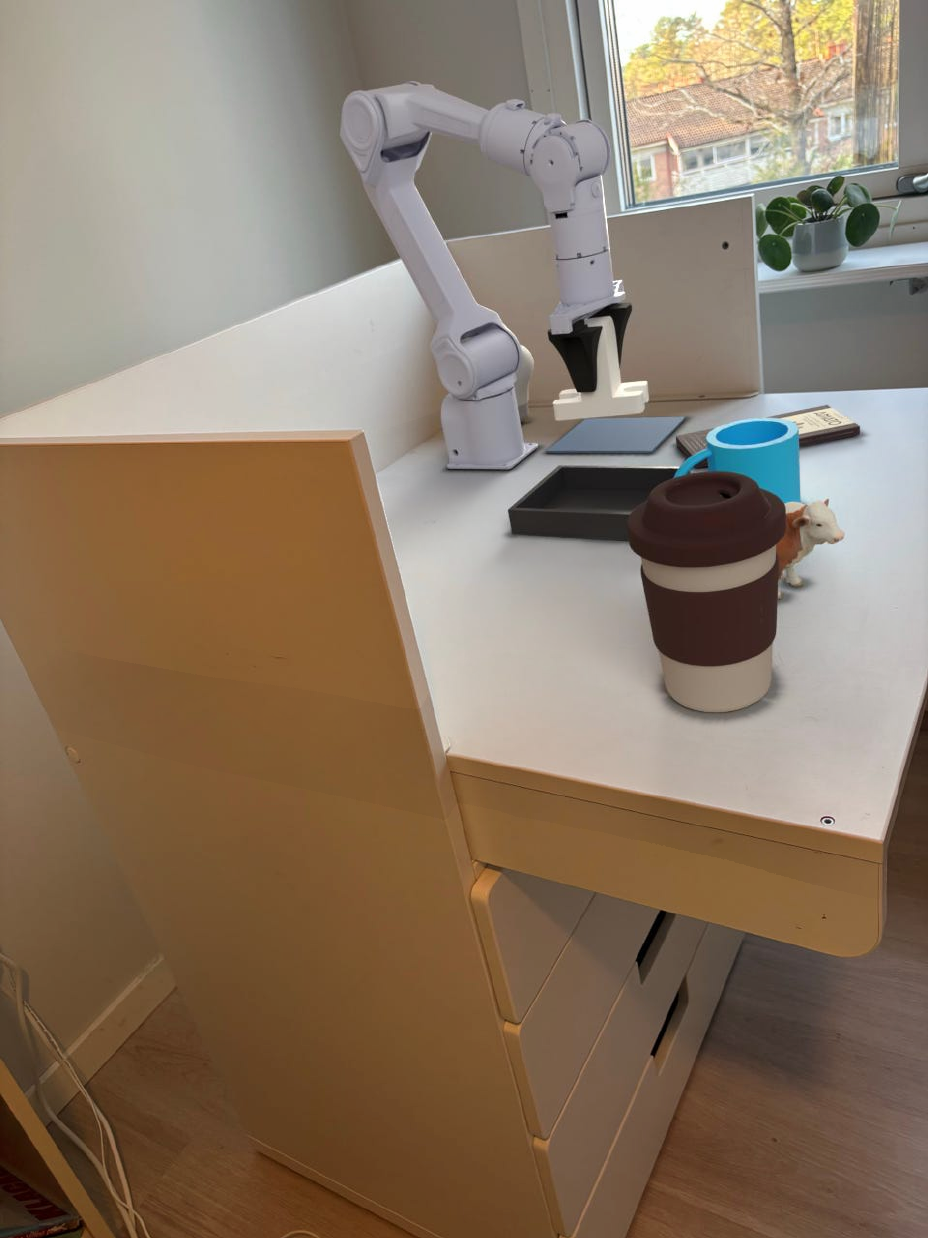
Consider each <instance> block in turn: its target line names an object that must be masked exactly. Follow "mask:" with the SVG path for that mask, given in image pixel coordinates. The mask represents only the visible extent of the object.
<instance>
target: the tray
mask: <svg viewBox="0 0 928 1238" xmlns="http://www.w3.org/2000/svg"><path fill="white" fill-rule="evenodd" d="M679 467H680V466H678V465H677V466H675V465H674V466H673V465H672V466H669V465H667V466H666V465H665V466H664V465H658V466H657V465H563V464H562V465H561V464H560V465H559V464H558V465H557V466H556V467H555V468H554V469H553V470H552V471H550V473H548V474H547V475H546V476H545V477H543V478H542V480H540V481H539V482H538V483H537V484H536V485H534V486H533V487H532V488H531V489H529V491H527V492H526V493H525V494H524V495H523V496H521V498H519V499H518V500H517V501H516V502H515V503H514V504H513V505H512V506H510V507H509V508H508V509H507V514H508V519H509V525H510V530H511V535H517V536H532V537H533V536H534V537H553V538H569V539H570V538H571V539H588V540H589V539H591V540H607V541H623V542H625V541H626V542H629V539H628V531H627V520H628V518H629V516H630V514H631V512H632V511H633V510H634V509H635V508H636V507H638V506H639V505H641V504H642V503H644V502H645V501H647V500H648V497H649V494H650V493H651V491H652V490H653V489H654V488H655V487H657V486H658V485H659V484H661V483H663V482H665V481H667V480H670V479H672V478H673V477H674V475H675V474H676V472H677V470H678V468H679ZM691 473H692V472H691V470H690V471H689V472H688V473H687V474H691Z"/></svg>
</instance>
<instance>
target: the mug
mask: <svg viewBox="0 0 928 1238" xmlns="http://www.w3.org/2000/svg"><path fill="white" fill-rule="evenodd" d="M714 428H715V429H713V430H712V431H710V432H709V433H708V435H707V437H706V444H707V449H704V450H701V451H699V452H698V453H696V454H694V455H693V456H691V457H689V458H688V457H687V459H685V461H684V462H682V463H681V465H680V466H679V468H678V470H677V472H676V474H675V475H674V477H673V478H675V477H678V476H682V475H686V474H687V473H688V472H689V471H691V470H692V469H693V468H694V467H695V465H696V464H697V463H699V462H700V461H702V460H704V459H705V458H708V466H707V468H708V469H707V470H708V471H728V472H735V473H739V474H743V475H746V476H748V477H750V478H752V479H753V480H754V481H756V482H757V484H758V486H759V488H761V489H764V490H767V491H769V492H771V493H773V494H775V495H777V496H778V497H779V498H780V499H781V500H782V501H783V503H784V504H785V503H788V502H799V503H802V502H801V501H802V500H801V498H802V497H801V473H800V472H801V468H800V463H801V461H800V447H799V428H798V426H797V425H796V424H795V423H793V422H791V421H789V420H784V419H779V418H766V417H755V418H754V417H753V418H746V419H740V420H739V419H738V420H735V421H731V422H728V423H724V424H721V425H719V426H717V427H714Z"/></svg>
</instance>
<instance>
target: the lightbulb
mask: <svg viewBox="0 0 928 1238" xmlns="http://www.w3.org/2000/svg"><path fill="white" fill-rule="evenodd" d="M520 346H521V350H522V363H521V366H520V368H519V370H518V371H517V372H516V378H517V381H516V382H515V383H514V388H515V394H516V399H517V405H518V411H519V417H520V423H523V422H525V420H526V419H527V418H528V417H529V416H530V411H529V400H530V398H529V397H530V396H529V388H530V383H531V380H532V376H533V374H534V369H535V361H534V358H533V355H532V353H531V352H530V350H528V349H527V347H525V346H524V345H522V344H520Z"/></svg>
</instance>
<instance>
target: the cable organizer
mask: <svg viewBox="0 0 928 1238" xmlns="http://www.w3.org/2000/svg"><path fill="white" fill-rule="evenodd" d="M584 322H585V324H588V327H594V326H602V327H603V329H602V332H601V335H600V339H599V344H598V351H597V388H596V391H594V392H582V393H577V391H576V389H575V388H568V389H563V390H560V392H559V394H558V398H559V399H554V400H553V401H552V409H553V416H554V420H555V421H558V422H559V421H569V420H580V419H590V418H605V417H615V416H616V417H617V416H626V415H636V414H637V415H638V414H641V413H644V411H645V408H646V407H645V403H647V404H648V403H649V400H650V395H649V384H648V381H647V380H639V381H629V382H622V378H621V371H620V370H621V368H620V369H619V361H618V352H617V343H616V334H615V328H614V323H613V320H612V318H611V317H610V316H605V317H598V318H590V319H586V320H584Z"/></svg>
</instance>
